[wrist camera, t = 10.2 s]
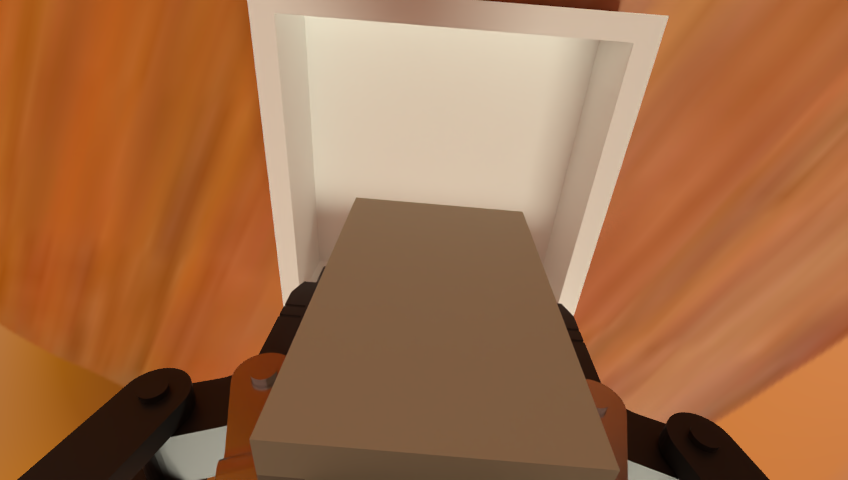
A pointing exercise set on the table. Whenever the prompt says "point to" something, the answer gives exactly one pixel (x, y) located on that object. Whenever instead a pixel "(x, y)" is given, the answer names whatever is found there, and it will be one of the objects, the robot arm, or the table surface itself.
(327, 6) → the serving bin
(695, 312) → the table surface
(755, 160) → the table surface
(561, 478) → the cream block
